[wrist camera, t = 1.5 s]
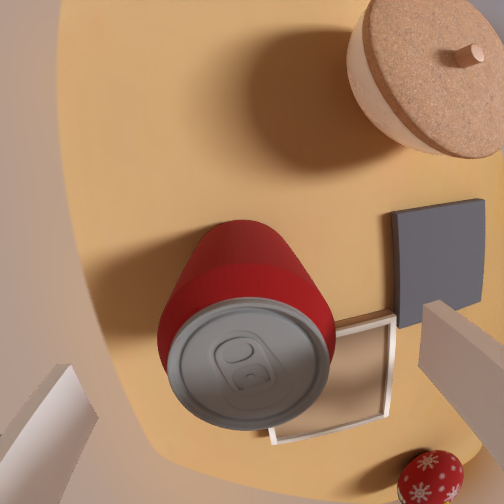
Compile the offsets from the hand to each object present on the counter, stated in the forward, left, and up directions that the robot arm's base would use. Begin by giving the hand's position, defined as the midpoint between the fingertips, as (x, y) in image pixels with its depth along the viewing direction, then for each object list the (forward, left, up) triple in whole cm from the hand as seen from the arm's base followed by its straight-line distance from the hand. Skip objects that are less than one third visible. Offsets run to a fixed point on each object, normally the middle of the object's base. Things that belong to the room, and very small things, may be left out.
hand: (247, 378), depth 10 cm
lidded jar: (-11, +13, -12) cm, 21 cm away
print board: (+11, +5, -12) cm, 17 cm away
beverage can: (0, 0, -12) cm, 12 cm away
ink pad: (+2, +16, -12) cm, 19 cm away
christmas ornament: (+30, +17, -12) cm, 36 cm away
